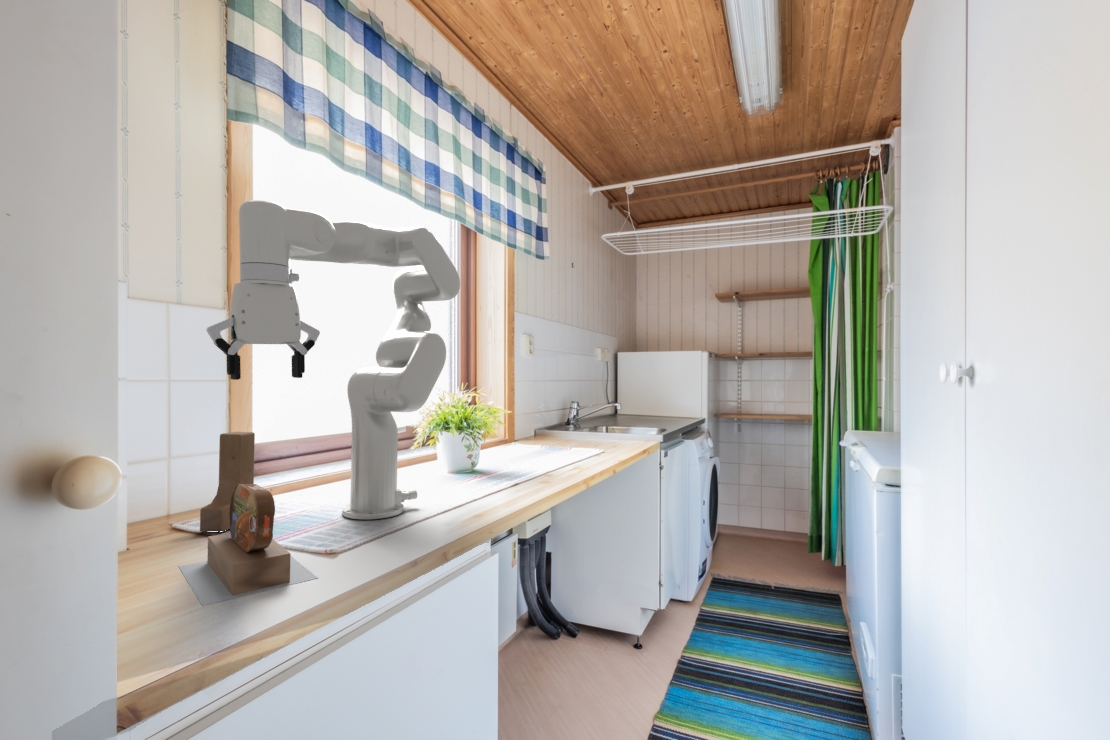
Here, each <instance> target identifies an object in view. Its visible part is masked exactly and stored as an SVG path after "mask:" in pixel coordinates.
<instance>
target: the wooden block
mask: <svg viewBox="0 0 1110 740" xmlns="http://www.w3.org/2000/svg"><path fill="white" fill-rule="evenodd" d="M255 436H256V435H255V432H253V431H231V432H226V433H225V432H224V433H220V434H219V457H218V458H219V459H218V470H219V471H218V487H217V492H216V494H215V496H214V498H213V499H212V501H211V502H210V503H209V504H207V505H205V506H204V507H201V508H200V512H199V513H200V515H199V516H200V517H199V518H200V519H199V531H218V532H220V531H225V530H227V531H229V530H228V529H230V525H229V511H230V502H231V496H232V492H233V489H234V487H235V486H236V485H237V484H255V483H254V479H255V475H254V474H255ZM225 532H226V531H225Z"/></svg>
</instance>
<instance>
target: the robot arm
mask: <svg viewBox="0 0 1110 740" xmlns="http://www.w3.org/2000/svg"><path fill="white" fill-rule="evenodd" d="M238 220H239V221H238V223H239V225H238V226H239V228H238V229H239V280H240V281H239V282H237V283H234V285H233V290H232V295H231V302H230V303H231V304H230V312H229V313H230V314H229V315H230V316H229V317H230V318H227V319H224V320H223V321H219V322H217V323H215V324H212V325H210V326H208V327H207V328H206V332H207V334H208V336H209V337H210V339H211V340H212V342H213V344H214V345H215V346H216V347H217V348H218V349H219V350H220V351H222V353H224V355H226V373H227V375H228V376H230V380H236V381H237V380H240V379H241V374H242V373H241V370H242V369H241V355H240V354H238V352H239V351H240V349H242V347H243V346H244V345H247V344H248V345H287V346H288V347H289V348H290V349H291V350H292V352H293V354H292V355H291V377H292V378H293V379H294V378H297V379H302V378H303V374H304V373H306V372H305V369H306V365H305V364H306V363H305V362H306V361H305V359H306V356H305V355H307V354H308V352H309V351H310V350H311V349H312V348H313V347H314V346H315V344H316V342H317V340H318V338H319V336H320V333H321V331H320V330H319V329H317V328H315V327H313V326H311V325H309V324H308V323H305V322H303V321H302V320H301V315H300V307H299V302H298V297H297V293H296V289H295V287H294V286H291V284H292V283H294V282H299V280H300V275H299V273H295V272H293V271H292V270H293V269H292V268H291V260H292V261H293V260H295V261H304V262H305V261H306V262H307V261H308V262H323V263H324V262H325V263H326V262H327V263H334V264H335V263H337V264H354V265H355V264H356V265H357V264H358V265H368V266H379V267H388V268H398V267H405V268H402V269H400V270H399V271H397V272H396V273H395V275H394V276H393V280H392V289H393V294H394V299H395V304H396V316H395V317H394V320H393V322H392V324H391V325H390V327H389V329H388V330H387V331H386V333H385V334H384V336H383V338H382V340H381V341H380V343H379V345H378V347H377V350H376V354H375V361H376V363H377V364H378V366H369V367H363V368H360V369H357V370H356V371H355V372H353V374H352V375H351V376H350V378H349V380H348V382H347V397H348V404H349V407H350V416H351V455H350V456H351V457H350V461H351V463H350V464H351V465H350V502H349V503H350V504H348V505H345V506H344V507H343V508H342V515H343V516H344V517H345V518H347V519H352V520H353V519H354V520H361V521H362V520H367V521H368V520H378V519H379V520H380V519H387V518H391V517H395V516H398V515H400V514H402V513H403V512H404V510H405V508H404V504H403V503H404V502H405V500H416V499H418V491H417V490H415V489H413V490H408V491H407V490H405V489H404V490H401V489H398V454H399V453H398V452H399V451H398V450H399V449H398V446H399V444H398V441H399V430H398V425H397V422H396V420H395V417H394V416H393V414H392V413H393V412H394V413H395V412H396V413H413V412H417V411H418V410H420V409H421V408H422V407H423V406H424V404H425V403H426V402H427V401H428V399H429V396H430V395H431V393H432V391H433V388H434V387H435V386H436V382H437V381H438V379H439V377H440V375H441V373H442V371H443V369H444V367H445V363H446V361H447V360H446V359H447V348H446V347H447V346H446V343H445V340H444V338H442V336H441V335H440V334H438V333H437V332H433V331H431V328H432V323H431V319H430V316H429V315H428V312H426V309H425V307H424V305H423V302H436V301H437V302H439V301H440V302H441V301H442V302H443V301H449V300H452V299H454V298H455V297H456V296H457V295H458V294H459V293H460V289H461V280H460V276H459V273H458V270H457V268H456V267H455V265H454V263H453V262H452V261H451V259H450V256H449V255H448V254H447V251H445V249H444V247H443V246H442V244H441V243H440V242H439V240H438V238H437V237H436V235H434V234H433V233H432V232H431V231H430V229H427V228H426V227H424V226H419V225H418V226H410V227H409V226H408V227H407V226H406V227H400V228H399V227H398V228H396V227H395V228H394V227H393V228H391V227H386V226H381V225H376V224H372V223H366V222H362V221H361V222H360V221H337V222H331V221H330V220H329V219H328V218H327V217H326V216H324V215H322V214H321V213H318V212H314V211H309V210H300V209H293V208H287V207H285V206H283V205H281V204H279V203H276V202H273V201H266V200H248V201H245V202H243V203H241V205H240V207H239V210H238ZM226 329H229V338H230V340H231V342H230V343H228V342H227V341H226V340H225V339H223V337H222V335H221V332H222V331H224V330H226ZM302 332H304V333H306V334H307V339H306V340H305V341H304V342H303V343H302V342H301V336H302Z"/></svg>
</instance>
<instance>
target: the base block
mask: <svg viewBox="0 0 1110 740" xmlns="http://www.w3.org/2000/svg"><path fill="white" fill-rule="evenodd" d="M290 555H291V553H290V551H288V550H287V549H286V548H285V547H284V546H282V545H281V544H280V543H278V541H275V539H274V538H272V541H271V543H270V545H269V546H268V547H267V548H265V549H261V550H254V551H249V552H246V551H244V550H243V549H242V548H241V547H240V546H239V545H238V544H237V543H236V542H235V541H234V540H233V539H232V537H231V534H230V532H228V533H220V534H216V535H210V536H207V560H206V561H207V563H208V564H209V566H210V567H211V568H212V569H213V571H214V572H215V573H216V575H217V576H218V577H219V579H220V580H221V581H222V583H223V584H224V585H225V586H226V588H227V589H228V590H229V592H230V593H231V594H232V596H233V595H237V594H241V593H246V592H250V591H254V590H258V589H263V588H267V587H271V586H275V585H280V584H284V583H288V582H290Z"/></svg>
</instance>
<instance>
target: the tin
mask: <svg viewBox="0 0 1110 740" xmlns="http://www.w3.org/2000/svg"><path fill="white" fill-rule="evenodd" d="M275 515H276V506H275V499H274V496H273V494H272V492H270V491H269V490H267V489H266V488H264V487H262V486H259V485H258V484H257V483H254V484H237V485H236V486H235V487H234V489H233V492H232V496H231V502H230V511H229V525H230V530H229V533H230V534H231V537H232V539H233V540H234V541H235V542H236V543H237V544H238V545H239V546H240V547H241V548H242V549H243V550H244V551H246V552H249V551H254V550H261V549H265V548H267V547H268V546H269V545H270V543H271V541H272V539H274V538H273V536H274V532H273V531H274V521H275Z"/></svg>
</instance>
